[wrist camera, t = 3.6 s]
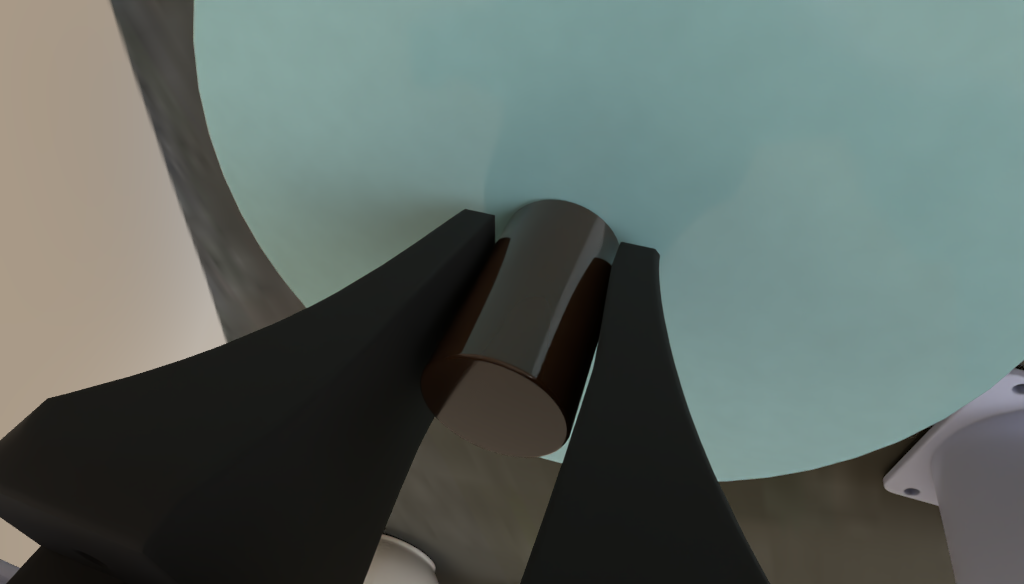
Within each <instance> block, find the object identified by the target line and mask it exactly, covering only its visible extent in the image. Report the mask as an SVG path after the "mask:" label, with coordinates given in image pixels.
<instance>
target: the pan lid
mask: <svg viewBox="0 0 1024 584" xmlns="http://www.w3.org/2000/svg"><path fill="white" fill-rule="evenodd" d="M193 43H194V52H195V61H196V70H197V79H198V88H199V93H200V97H201V102H202V106H203V110H204V115H205V119H206V123H207V128H208V132H209V136H210V138H211V141H212V144H213V147H214V150H215V153H216V156H217V159H218V162H219V164H220V167H221V170H222V173H223V176H224V178H225V180H226V182H227V184H228V187H229V189H230V191H231V193H232V195H233V198H234V200H235V202H236V204H237V206H238V208H239V211H240V213H241V215H242V216H243V218H244V220H245V221H246V223H247V225H248V227H249V228H250V230H251V232H252V234H253V235H254V237H255V239H256V241H257V242H258V244H259V246H260V247H261V249H262V250H263V252H264V253H265V255H266V256H267V258H268V259H269V260H270V262H271V263H272V265H273V266H274V268H275V269H276V270H277V272H278V273H279V275H280V276H281V278H282V279H283V280H284V282H285V283H286V284H287V285H288V286H289V288H290V289H291V290H292V291H293V293H294V294H295V295H296V296H297V297H298V299H299V300H300V301H301V302H302V303H303V305H304V306H305V307H306V308H308V307H310V306H312V305H314V304H316V303H318V302H320V301H322V300H323V299H325V298H327V297H329V296H331V295H333V294H335V293H336V292H338V291H340V290H342V289H343V288H345V287H347V286H348V285H350V284H352V283H353V282H355V281H357V280H358V279H360V278H362V277H363V276H365V275H367V274H368V273H370V272H372V271H373V270H375V269H377V268H378V267H380V266H381V265H383V264H385V263H386V262H388V261H389V260H391V259H392V258H394V257H395V256H397V255H398V254H400V253H401V252H403V251H404V250H406V249H407V248H409V247H410V246H412V245H413V244H414V243H416V242H417V241H419V240H420V239H422V238H423V237H425V236H426V235H427V234H429V233H430V232H432V231H433V230H435V229H436V228H438V227H439V226H440V225H442V224H443V223H445V222H446V221H448V220H449V219H451V218H452V217H453V216H455V215H456V214H458V213H459V212H461V211H462V210H464V209H468V210H473V211H478V212H483V213H487V214H492V215H495V245H494V247H493V248H492V250H491V252H490V254H489V255H488V257H487V259H486V261H485V262H484V264H483V266H482V268H481V269H480V271H479V273H478V275H477V276H476V278H475V280H474V282H473V283H472V285H471V287H470V289H469V290H468V292H467V294H466V296H465V297H464V299H463V301H462V303H461V304H460V306H459V308H458V310H457V311H456V313H455V315H454V317H453V318H452V320H451V322H450V324H449V325H448V327H447V329H446V331H445V332H444V334H443V336H442V338H441V339H440V341H439V343H438V345H437V346H436V348H435V350H434V352H433V353H432V355H431V357H430V359H429V360H428V362H427V364H426V366H425V367H424V369H423V371H422V374H421V378H420V390H421V394H422V397H423V399H424V401H425V403H426V405H427V407H428V408H429V409H430V411H431V412H432V413H433V415H434V416H435V417H436V418H437V419H438V420H439V421H440V422H441V423H442V424H443V425H445V426H446V427H447V428H448V429H450V430H451V431H452V432H454V433H455V434H457V435H458V436H460V437H461V438H463V439H465V440H467V441H468V442H470V443H472V444H474V445H476V446H479V447H481V448H484V449H486V450H489V451H492V452H495V453H499V454H503V455H507V456H513V457H524V458H532V457H540V458H543V459H547V460H551V461H554V462H558V463H563V460H564V457H565V454H566V451H567V448H568V444H569V441H570V438H571V435H572V432H573V429H574V426H575V423H576V420H577V417H578V414H579V411H580V408H581V405H582V402H583V399H584V395H585V392H586V389H587V386H588V383H589V380H590V377H591V373H592V370H593V366H594V362H595V357H596V351H597V345H598V340H599V335H600V329H601V323H602V317H603V312H604V306H605V300H606V295H607V289H608V283H609V278H610V272H611V267H612V263H613V261H614V258H615V255H616V253H617V250H618V248H619V245H620V243H621V242H625V243H630V244H635V245H640V246H644V247H649V248H654V249H656V250H657V252H658V253H659V254H660V261H659V279H660V291H661V299H662V306H663V312H664V318H665V323H666V328H667V332H668V337H669V342H670V347H671V351H672V355H673V358H674V362H675V366H676V369H677V373H678V376H679V380H680V383H681V387H682V390H683V393H684V396H685V399H686V402H687V405H688V408H689V411H690V414H691V417H692V419H693V422H694V425H695V427H696V430H697V433H698V435H699V438H700V441H701V443H702V445H703V448H704V450H705V453H706V455H707V457H708V460H709V462H710V465H711V467H712V469H713V472H714V474H715V476H716V478H717V480H718V482H719V481H737V480H748V479H759V478H769V477H775V476H781V475H786V474H792V473H798V472H803V471H809V470H814V469H817V468H821V467H825V466H828V465H832V464H836V463H839V462H843V461H847V460H850V459H854V458H857V457H860V456H862V455H865V454H868V453H870V452H873V451H876V450H878V449H881V448H884V447H886V446H889V445H892V444H894V443H897V442H899V441H902V440H904V439H906V438H908V437H910V436H912V435H914V434H916V433H918V432H920V431H922V430H924V429H926V428H928V427H929V426H931V425H933V424H935V423H937V422H939V421H941V420H943V419H945V418H947V417H948V416H950V415H951V414H953V413H954V412H956V411H958V410H959V409H961V408H962V407H964V406H965V405H967V404H968V403H970V402H971V401H973V400H974V399H976V398H977V397H979V396H980V395H982V394H983V393H985V392H986V391H988V390H990V389H991V388H992V387H993V386H994V385H995V384H997V383H998V382H999V381H1000V380H1001V379H1002V378H1004V377H1005V376H1006V375H1007V374H1008V373H1009V372H1011V371H1012V370H1013V369H1014V368H1015V367H1016V366H1018V365H1019V364H1020V363H1021V362H1022V361H1023V360H1024V0H194V23H193Z"/></svg>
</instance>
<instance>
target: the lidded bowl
mask: <svg viewBox="0 0 1024 584" xmlns="http://www.w3.org/2000/svg"><path fill="white" fill-rule="evenodd" d="M435 570H436V566H435V564H434V563H433V561H432V560H431V559H430V558H429V557H428V556H427V555H425V554H424V553H423V552H421V551H420V550H418V549H417V548H415V547H413V546H412V545H410V544H408V543H406V542H404V541H401V540H399V539H397V538H394V537H391V536H388V535H384V534H382V536H381V539H380V541H379V544H378V547H377V549H376V552H375V554H374V557H373V560H372V562H371V565H370V567H369V570H368V573H367V575H366V578H365V581H364V583H363V584H439V583H438V580H437V578H436V575H435V573H434V572H435Z"/></svg>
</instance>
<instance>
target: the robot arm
mask: <svg viewBox="0 0 1024 584" xmlns="http://www.w3.org/2000/svg"><path fill="white" fill-rule="evenodd" d="M494 245H495V215H492V214H487V213H483V212H478V211H473V210H468V209H464V210H462V211H461V212H459V213H458V214H456V215H455V216H453V217H452V218H451V219H449V220H448V221H446V222H445V223H443V224H442V225H440V226H439V227H438V228H436V229H435V230H433V231H432V232H430V233H429V234H427V235H426V236H425V237H423V238H422V239H420V240H419V241H417V242H416V243H414V244H413V245H412V246H410V247H409V248H407V249H406V250H404V251H403V252H401V253H400V254H398V255H397V256H395V257H394V258H392V259H391V260H389V261H388V262H386V263H385V264H383V265H381V266H380V267H378V268H377V269H375V270H373V271H372V272H370V273H368V274H367V275H365V276H363V277H362V278H360V279H358V280H357V281H355V282H353V283H352V284H350V285H348V286H347V287H345V288H343V289H342V290H340V291H338V292H336V293H335V294H333V295H331V296H329V297H327V298H325V299H323V300H322V301H320V302H318V303H316V304H314V305H312V306H310V307H308V308H306V309H304V310H302V311H300V312H298V313H296V314H294V315H292V316H290V317H288V318H285V319H283V320H281V321H279V322H277V323H275V324H272V325H270V326H268V327H265V328H263V329H260V330H258V331H255V332H253V333H251V334H248V335H246V336H243V337H241V338H239V339H236V340H234V341H231V342H229V343H226V344H224V345H222V346H219V347H216V348H214V349H211V350H208V351H206V352H203V353H200V354H197V355H195V356H192V357H189V358H186V359H183V360H180V361H177V362H174V363H171V364H168V365H165V366H162V367H159V368H156V369H153V370H149V371H146V372H143V373H140V374H136V375H133V376H130V377H126V378H123V379H119V380H115V381H112V382H108V383H104V384H101V385H97V386H93V387H90V388H86V389H82V390H79V391H75V392H71V393H68V394H64V395H60V396H56V397H52V398H48V399H47V400H46V401H44V402H43V403H42V404H41V405H40V406H39V407H37V408H36V409H35V410H34V411H33V412H32V413H31V414H30V415H29V416H27V417H26V418H25V419H24V420H23V421H22V422H21V423H19V424H18V425H17V426H16V427H15V428H14V429H13V430H12V431H10V432H9V433H8V434H7V435H6V436H5V437H4V438H3V439H1V440H0V517H1V518H2V519H4V520H5V521H6V522H8V523H10V524H11V525H12V526H14V527H15V528H17V529H18V530H19V531H21V532H22V533H24V534H25V535H26V536H28V537H29V538H31V539H32V540H34V541H35V542H37V543H38V544H39V545H41V547H40V548H39V549H38V550H37V551H36V552H35V553H34V554H33V555H32V556H31V557H30V558H29V559H28V560H27V562H26V563H25V564H24V565H23V566H22V567H21V568H19V567H17V566H14V565H12V564H9V563H8V562H5V561H3V560H1V559H0V584H363V583H364V581H365V578H366V575H367V573H368V570H369V567H370V565H371V562H372V560H373V557H374V554H375V552H376V549H377V547H378V544H379V541H380V539H381V536H382V534H383V531H384V529H385V526H386V524H387V521H388V519H389V517H390V514H391V512H392V509H393V507H394V504H395V502H396V499H397V497H398V494H399V492H400V490H401V487H402V485H403V483H404V480H405V478H406V476H407V473H408V471H409V469H410V466H411V464H412V462H413V459H414V457H415V455H416V452H417V450H418V448H419V446H420V444H421V442H422V440H423V438H424V436H425V434H426V432H427V430H428V428H429V426H430V424H431V422H432V421H433V419H434V417H435V416H434V415H433V413H432V412H431V411H430V409H429V408H428V407H427V405H426V403H425V401H424V399H423V397H422V394H421V390H420V378H421V374H422V371H423V369H424V367H425V366H426V364H427V362H428V360H429V359H430V357H431V355H432V353H433V352H434V350H435V348H436V346H437V345H438V343H439V341H440V339H441V338H442V336H443V334H444V332H445V331H446V329H447V327H448V325H449V324H450V322H451V320H452V318H453V317H454V315H455V313H456V311H457V310H458V308H459V306H460V304H461V303H462V301H463V299H464V297H465V296H466V294H467V292H468V290H469V289H470V287H471V285H472V283H473V282H474V280H475V278H476V276H477V275H478V273H479V271H480V269H481V268H482V266H483V264H484V262H485V261H486V259H487V257H488V255H489V254H490V252H491V250H492V248H493V247H494ZM659 261H660V254H659V253H658V252H657V250H656V249H654V248H649V247H644V246H640V245H635V244H630V243H625V242H621V243H620V245H619V248H618V250H617V253H616V255H615V258H614V261H613V263H612V267H611V272H610V278H609V283H608V289H607V295H606V300H605V306H604V312H603V317H602V323H601V329H600V335H599V340H598V345H597V351H596V357H595V362H594V366H593V370H592V373H591V377H590V380H589V383H588V386H587V389H586V392H585V395H584V399H583V402H582V405H581V408H580V411H579V414H578V417H577V420H576V423H575V426H574V429H573V432H572V435H571V438H570V441H569V444H568V448H567V451H566V454H565V457H564V460H563V463H562V466H561V468H560V471H559V474H558V477H557V480H556V483H555V486H554V489H553V492H552V495H551V498H550V501H549V504H548V507H547V509H546V512H545V515H544V518H543V521H542V524H541V527H540V529H539V532H538V535H537V538H536V541H535V544H534V546H533V549H532V552H531V555H530V558H529V560H528V563H527V566H526V569H525V572H524V575H523V577H522V580H521V583H520V584H770V583H769V581H768V579H767V577H766V575H765V574H764V572H763V570H762V568H761V566H760V564H759V563H758V561H757V559H756V557H755V555H754V553H753V551H752V550H751V548H750V546H749V544H748V542H747V540H746V538H745V536H744V534H743V532H742V530H741V528H740V526H739V524H738V522H737V520H736V518H735V516H734V514H733V512H732V509H731V507H730V505H729V503H728V501H727V499H726V497H725V495H724V493H723V491H722V489H721V487H720V485H719V482H718V480H717V478H716V476H715V474H714V472H713V469H712V467H711V465H710V462H709V460H708V457H707V455H706V453H705V450H704V448H703V445H702V443H701V441H700V438H699V435H698V433H697V430H696V427H695V425H694V422H693V419H692V417H691V414H690V411H689V408H688V405H687V402H686V399H685V396H684V393H683V390H682V387H681V383H680V380H679V376H678V373H677V369H676V366H675V362H674V358H673V355H672V351H671V347H670V342H669V337H668V332H667V328H666V323H665V318H664V312H663V306H662V299H661V291H660V279H659ZM1019 384H1023V385H1019ZM883 484H884V488H885V489H886V490H887V491H889V492H891V493H894V494H898V495H901V496H905V497H909V498H912V499H916V500H919V501H923V502H927V503H930V504H934V505H937V506H939V509H940V514H941V518H942V523H943V527H944V532H945V536H946V541H947V545H948V549H949V554H950V558H951V563H952V567H953V572H954V576H955V581H956V584H1024V370H1020V369H1016V368H1014V369H1013V370H1012V371H1011V372H1009V373H1008V374H1007V375H1006V376H1005V377H1004V378H1002V379H1001V380H1000V381H999V382H998V383H997V384H995V385H994V386H993V387H992V388H991V389H990V390H988V391H986V392H985V393H983V394H982V395H980V396H979V397H977V398H976V399H974V400H973V401H971V402H970V403H968V404H967V405H965V406H964V407H962V408H961V409H959V410H958V411H956V412H954V413H953V414H951V415H950V416H948V417H947V418H945V419H943V420H941V421H939V422H937V423H935V425H934V426H933V427H932V428H931V429H930V430H929V431H928V432H927V433H926V434H925V435H924V436H923V437H922V438H921V439H920V440H919V441H918V442H917V443H916V444H915V445H914V446H913V447H912V448H911V449H910V450H909V451H908V452H907V453H906V454H905V456H904V457H903V458H902V459H901V460H900V461H899V462H898V463H897V464H896V465H895V466H894V467H893V468H892V469H891V470H890V471H889V472H888V473H887V474H886V475H885V476H884V478H883Z"/></svg>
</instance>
